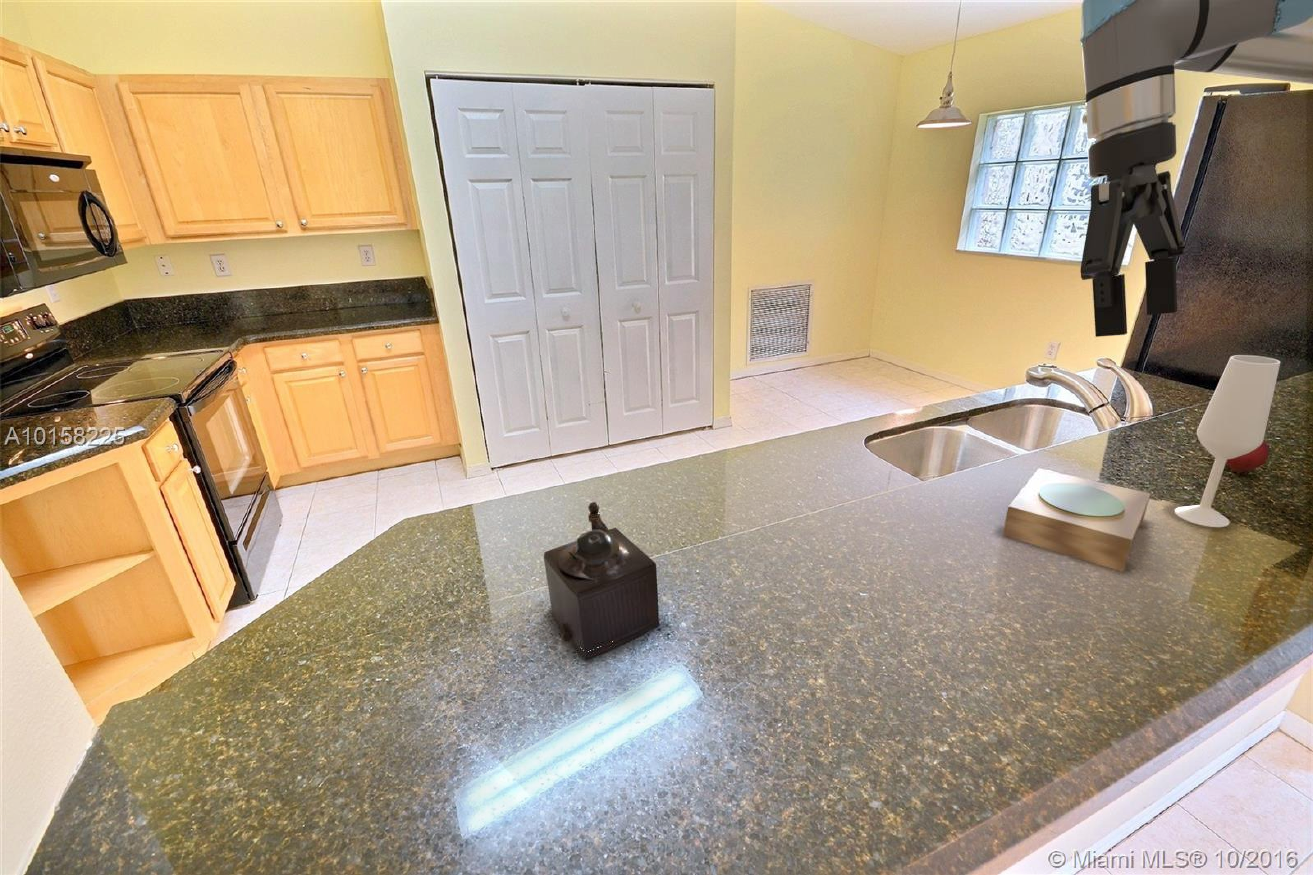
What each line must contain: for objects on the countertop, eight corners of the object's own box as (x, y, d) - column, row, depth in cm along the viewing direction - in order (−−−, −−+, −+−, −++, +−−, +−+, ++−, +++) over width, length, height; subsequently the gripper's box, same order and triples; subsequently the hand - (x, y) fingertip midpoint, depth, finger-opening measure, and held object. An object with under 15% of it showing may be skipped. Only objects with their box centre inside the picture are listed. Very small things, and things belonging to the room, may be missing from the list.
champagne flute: (1238, 519, 84) (1297, 359, 75) (1223, 534, 81) (1283, 369, 72) (1180, 502, 90) (1229, 350, 81) (1164, 516, 86) (1213, 359, 77)
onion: (1215, 462, 101) (1229, 419, 98) (1261, 471, 97) (1277, 426, 94) (1212, 473, 98) (1226, 429, 95) (1260, 483, 94) (1276, 437, 91)
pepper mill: (545, 616, 73) (524, 490, 66) (621, 584, 78) (609, 464, 72) (600, 695, 61) (581, 549, 54) (686, 651, 66) (679, 513, 59)
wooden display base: (1142, 523, 85) (1151, 492, 83) (1122, 573, 74) (1132, 538, 72) (1033, 495, 94) (1039, 467, 92) (1002, 536, 84) (1008, 504, 82)
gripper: (1137, 140, 73) (1144, 309, 77) (1034, 149, 61) (1048, 347, 65) (1217, 116, 66) (1220, 301, 71) (1119, 120, 54) (1129, 343, 59)
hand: (1137, 324), depth 68 cm, fingers open, 13 cm apart
